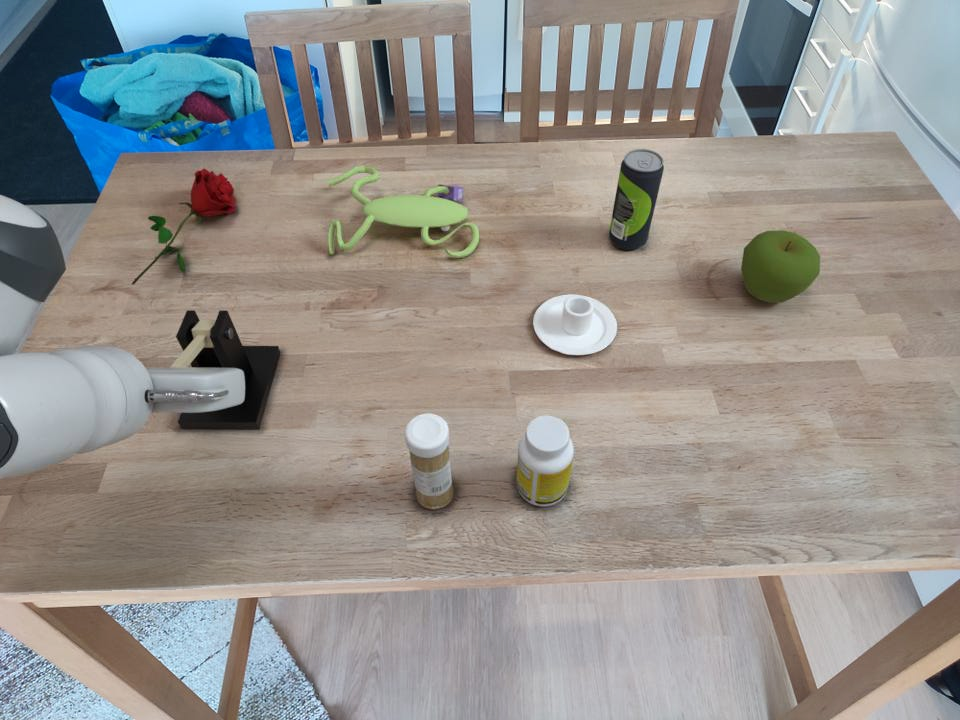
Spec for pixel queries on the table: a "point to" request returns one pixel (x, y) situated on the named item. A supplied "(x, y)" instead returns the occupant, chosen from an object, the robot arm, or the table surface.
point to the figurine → (407, 212)
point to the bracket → (231, 354)
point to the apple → (779, 265)
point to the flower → (197, 208)
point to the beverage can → (635, 198)
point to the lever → (196, 343)
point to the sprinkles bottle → (430, 460)
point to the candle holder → (575, 324)
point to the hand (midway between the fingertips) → (172, 379)
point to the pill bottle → (544, 461)
